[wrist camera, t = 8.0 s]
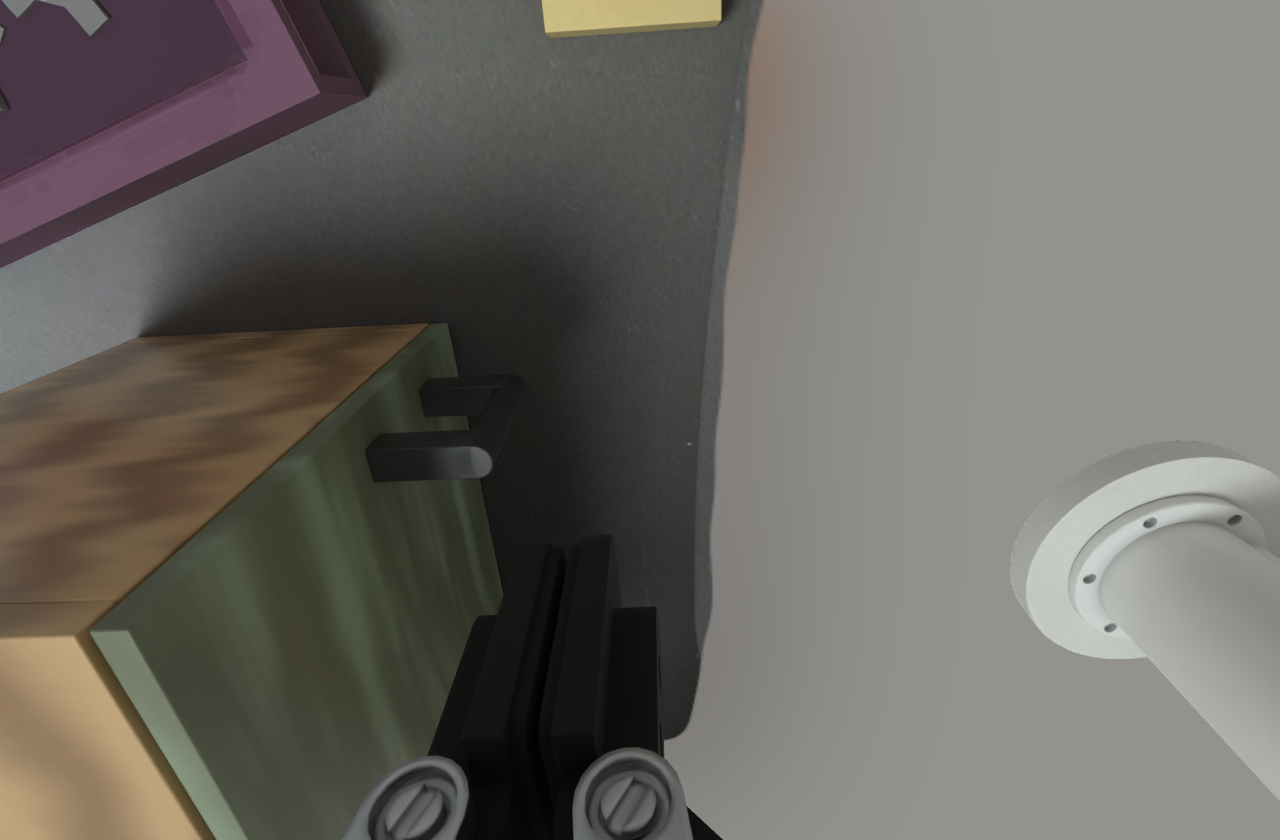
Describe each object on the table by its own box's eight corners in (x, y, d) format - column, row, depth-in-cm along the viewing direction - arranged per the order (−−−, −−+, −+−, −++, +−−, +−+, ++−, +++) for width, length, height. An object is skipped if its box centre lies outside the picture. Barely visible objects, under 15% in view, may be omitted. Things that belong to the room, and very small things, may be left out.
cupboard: (428, 322, 36) (73, 636, 14) (499, 649, 47) (365, 1101, 26) (136, 336, 37) (-631, 654, 15) (276, 654, 48) (-40, 1096, 26)
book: (155, -334, 24) (41, -438, 20) (370, 96, 31) (321, 91, 26) (-274, -53, 29) (-447, -85, 24) (-7, 271, 35) (-104, 292, 31)
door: (537, 317, 35) (350, 624, 14) (582, 649, 47) (520, 1097, 25) (431, 323, 36) (86, 631, 14) (502, 651, 47) (372, 1096, 26)
